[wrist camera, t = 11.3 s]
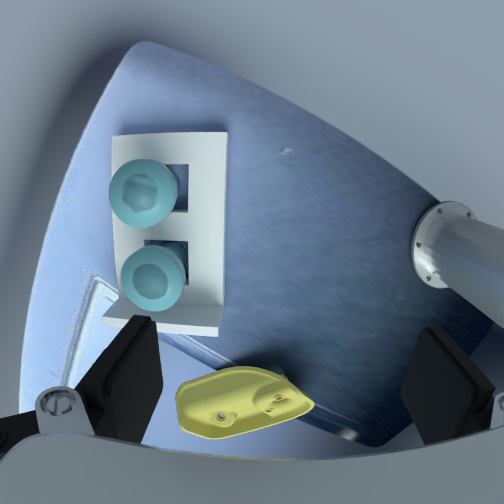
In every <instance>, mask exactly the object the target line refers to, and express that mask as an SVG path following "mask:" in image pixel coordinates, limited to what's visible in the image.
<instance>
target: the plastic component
mask: <svg viewBox="0 0 504 504" xmlns="http://www.w3.org/2000/svg"><path fill="white" fill-rule="evenodd" d="M175 400H176V407H177V414H178V421H179V425H180V428H181V429H182V430H183V431H185V432H188V433H191V434H194V435H197V436H200V437H203V438H206V439H222V438H226V437H231V436H235V435H239V434H243V433H247V432H250V431H254V430H258V429H261V428H265V427H268V426H271V425H275V424H278V423H281V422H284V421H287V420H290V419H293V418H296V417H298V416H301V415H303V414H305V413H307V412H308V411H310V410H311V409H312V408H313V407H314V402H313V400H312V399H311V398H310V397H309V396H308V395H307V394H306V393H304V392H303V391H301V390H300V389H298V388H297V387H295V386H294V385H293V384H292V383H291V382H289V381H288V378H287V377H285V375H284V374H281V375H278V374H276V373H273V372H271V371H268V370H265V369H261V368H257V367H250V366H237V367H230V368H225V369H222V370H219V371H216V372H213V373H211V374H208V375H205V376H202V377H199V378H196V379H193V380H190V381H188V382H184V383H183V384H182V385H181V386H180V387H179V388H178V390H177V392H176V398H175ZM219 413H222V414H223V415H224V417H223V418H222V417H220V416H219Z"/></svg>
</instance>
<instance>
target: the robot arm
mask: <svg viewBox="0 0 504 504" xmlns="http://www.w3.org/2000/svg"><path fill="white" fill-rule="evenodd" d="M411 259H412V264H413V267H414V269H415V271H416V273H417V275H418V276H419V277H420V278H421V279H422V280H423V281H424V282H425V283H426V284H428V285H430V286H432V287H436V288H446V287H450V288H452V289H453V290H454V291H456V292H457V293H458V294H460V295H461V296H462V297H464V298H465V299H466V300H468V301H469V302H470V303H472V304H473V305H474V306H475V307H477V308H478V309H479V310H481V311H482V312H483V313H484V314H486V315H487V316H488V317H489V318H491V319H492V320H493V321H495V322H496V323H497V324H498V325H500V326H501V327H503V328H504V230H503V229H500V228H497V227H495V226H492V225H489V224H486V223H483V222H480V221H477V219H476V217H475V215H474V214H473V212H472V211H471V210H470V209H469V208H468V207H466V206H465V205H463V204H461V203H458V202H453V201H444V202H441V203H438V204H436V205H434V206H433V207H431V208H430V209H429V210H428V211H427V212H426V213H424V215H423V216H422V217H421V219H420V220H419V222H418V224H417V226H416V228H415V231H414V234H413V237H412V242H411ZM162 390H163V377H162V370H161V362H160V354H159V345H158V335H157V325H156V322H155V321H152V320H151V317H150V316H143V315H133V316H132V317H131V318H130V320H129V321H128V322H127V323H126V324H125V326H124V327H123V328H122V329H121V331H120V332H119V333H118V334H117V336H116V337H115V338H114V340H113V341H112V342H111V343H110V345H109V346H108V347H107V348H106V349H105V350H104V351H103V352H102V354H101V355H100V356H99V357H98V359H97V360H96V361H95V363H94V364H93V365H92V366H91V368H90V369H89V370H88V372H87V373H86V374H85V376H84V377H83V378H82V379H81V381H80V382H79V383H78V385H77V386H76V387H75V389H72V388H69V387H64V386H58V387H52V388H49V389H47V390H45V391H43V392H42V393H41V394H40V395H39V396H38V397H37V399H36V401H35V409H36V410H33V411H29V412H25V413H21V414H17V415H13V416H9V417H4V418H0V504H504V393H500V394H498V395H497V396H496V397H495V399H494V398H493V396H492V394H493V393H494V391H495V387H494V385H493V384H492V383H491V382H490V381H489V379H488V378H487V377H486V376H485V375H484V374H483V372H481V370H480V369H479V368H478V367H477V366H476V364H475V363H474V362H473V361H472V360H471V359H470V358H469V357H468V355H467V354H466V353H465V352H464V351H463V350H462V349H461V348H460V347H459V346H458V344H457V343H456V342H455V341H454V340H453V339H452V338H451V337H450V336H449V335H448V334H447V333H446V331H445V330H444V329H443V328H442V327H440V326H431V327H425V329H424V330H423V331H421V332H420V334H419V337H418V340H417V344H416V347H415V350H414V353H413V356H412V359H411V362H410V365H409V368H408V371H407V374H406V377H405V380H404V382H403V385H402V388H401V397H402V399H403V401H404V403H405V405H406V407H407V409H408V411H409V413H410V415H411V417H412V419H413V421H414V423H415V425H416V427H417V429H418V432H419V434H420V436H421V438H422V440H423V442H424V444H425V445H423V446H417V447H412V448H406V449H400V450H393V451H387V452H379V453H371V454H362V455H353V456H339V457H323V458H250V457H234V456H222V455H212V454H203V453H194V452H187V451H180V450H173V449H167V448H160V447H154V446H149V445H143V444H141V441H142V439H143V436H144V434H145V431H146V429H147V427H148V424H149V422H150V419H151V417H152V414H153V412H154V410H155V407H156V405H157V402H158V400H159V398H160V395H161V393H162Z"/></svg>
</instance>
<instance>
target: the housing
mask: <svg viewBox="0 0 504 504" xmlns="http://www.w3.org/2000/svg"><path fill="white" fill-rule="evenodd" d="M228 145H229V134H228V133H227V132H175V133H150V134H133V135H119V136H112V165H111V180H112V177H113V176H114V174H115V172H116V171H117V170H118V169H119V168H120V167H121V166H122V165H123V164H125V163H127V162H129V161H131V160H135V159H152V160H156V161H159V162H161V163H163V164H189V184H188V209H173V210H172V211H171V213H170V214H169V215H168V216H167V217H166V218H164V219H163V220H161V221H160V222H158V223H157V224H155V225H153V226H150V227H147V228H135V227H131V226H129V225H127V224H125V223H124V222H122V221H121V220H120V219H119V218H118V217H117V216H116V215H115V213H114V211H113V209H112V221H113V239H114V253H115V265H116V276H117V285H118V294H119V299H118V300H117V301H116V302H115V303H114V304H113V305H112V306H111V307H110V308H109V309H108V310H107V312H106V313H105V314H104V315H103V316H102V320H103V325H105V326H112V327H120V328H123V327H124V326H125V324H126V323H127V322H128V321H129V320H130V318H131V317H132V316H133V315H143V316H150V317H151V320H152V321H155V322H156V325H157V332H165V333H175V334H187V335H200V336H214V337H218V335H219V330H220V325H221V321H222V316H223V311H224V306H225V243H226V203H227V172H228ZM150 240H169V241H188V260H189V278H186V281H185V286H184V289H183V291H182V293H181V295H180V296H179V298H178V300H177V301H176V303H175V304H174V305H172V306H171V307H170V308H168V309H166V310H163V311H157V312H155V311H147V310H144V309H142V308H140V307H138V306H136V305H135V304H134V303H133V302H131V300H130V299H129V298H128V297H127V296H126V294H125V292H124V290H123V288H122V284H121V269H122V266H123V264H124V262H125V261H126V259H127V258H128V257H129V256H130V255H132V254H133V253H134V252H135V251H137V250H138V249H140V248H142V247H144V246H148V245H151V242H150Z"/></svg>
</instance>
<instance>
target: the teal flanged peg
mask: <svg viewBox="0 0 504 504" xmlns="http://www.w3.org/2000/svg"><path fill="white" fill-rule="evenodd" d="M185 263H186V253H185V250H184V249H183V247H182V246H181V245H179V244H177V243H175V242H166V243H164V244H162V245H161V246H158V245H148V246H144V247H142V248H140V249H138V250H137V251H135V252H134V253H133V254H132V255H130V256H129V257H128V258H127V259H126V261H125V262H124V264H123V266H122V269H121V284H122V288H123V290H124V292H125V294H126V296H127V297H128V298H129V299H130V300H131V302H133V303H134V304H135V305H136V306H138V307H140V308H142V309H144V310H147V311H155V312H157V311H163V310H166V309H168V308H170V307H171V306H172V305H174V304H175V303H176V301H177V300H178V298H179V296H180V295H181V293H182V291H183V289H184V286H185V281H186V275H185V269H184V267H183V266H184V265H185Z"/></svg>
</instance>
